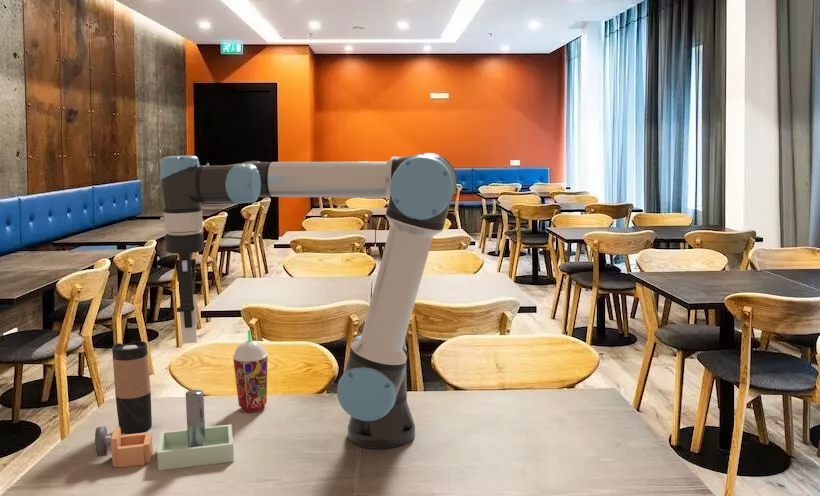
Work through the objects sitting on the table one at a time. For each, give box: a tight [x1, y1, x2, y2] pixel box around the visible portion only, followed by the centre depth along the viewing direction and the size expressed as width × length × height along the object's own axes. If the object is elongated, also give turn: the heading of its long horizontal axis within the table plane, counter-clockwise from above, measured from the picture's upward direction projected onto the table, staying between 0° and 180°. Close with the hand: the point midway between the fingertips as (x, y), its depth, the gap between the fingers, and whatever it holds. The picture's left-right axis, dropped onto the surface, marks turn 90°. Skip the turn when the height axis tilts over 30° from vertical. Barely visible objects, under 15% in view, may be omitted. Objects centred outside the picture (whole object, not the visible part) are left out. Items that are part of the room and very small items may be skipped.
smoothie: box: [232, 329, 269, 413], centre depth 187 cm, size 8×8×20 cm
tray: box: [156, 424, 235, 471], centre depth 162 cm, size 15×11×4 cm
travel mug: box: [111, 340, 153, 435], centre depth 175 cm, size 8×8×20 cm
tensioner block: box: [94, 426, 154, 468], centre depth 160 cm, size 10×7×8 cm
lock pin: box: [185, 389, 206, 448], centre depth 161 cm, size 4×4×13 cm
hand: (190, 333), depth 158 cm, fingers open, 13 cm apart
